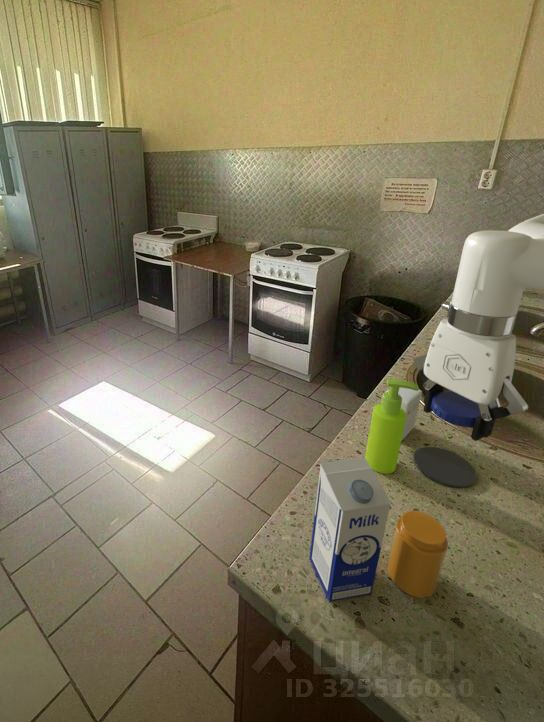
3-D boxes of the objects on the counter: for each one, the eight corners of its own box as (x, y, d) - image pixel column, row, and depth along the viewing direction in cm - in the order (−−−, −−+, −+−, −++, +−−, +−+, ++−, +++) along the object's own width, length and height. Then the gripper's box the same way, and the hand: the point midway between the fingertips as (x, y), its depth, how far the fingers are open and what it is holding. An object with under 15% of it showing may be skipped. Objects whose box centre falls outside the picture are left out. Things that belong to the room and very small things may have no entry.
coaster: (457, 450, 86) (458, 447, 86) (488, 490, 76) (489, 487, 76) (404, 447, 87) (405, 445, 87) (427, 486, 77) (428, 484, 77)
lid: (444, 427, 59) (446, 417, 58) (422, 399, 65) (424, 390, 64) (494, 428, 58) (497, 418, 57) (467, 399, 64) (469, 391, 64)
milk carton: (348, 551, 65) (365, 455, 58) (372, 593, 59) (394, 491, 52) (308, 558, 64) (319, 461, 57) (328, 601, 58) (343, 499, 51)
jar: (423, 557, 64) (436, 509, 60) (444, 600, 58) (459, 549, 54) (381, 553, 65) (391, 506, 61) (396, 595, 58) (408, 545, 55)
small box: (390, 417, 97) (397, 380, 93) (414, 428, 93) (423, 390, 89) (375, 431, 92) (381, 393, 89) (399, 443, 88) (408, 404, 85)
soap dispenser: (403, 477, 79) (421, 393, 72) (366, 470, 81) (380, 387, 74) (398, 457, 84) (415, 376, 77) (363, 450, 87) (377, 371, 79)
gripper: (406, 305, 62) (389, 400, 68) (537, 350, 47) (500, 467, 53) (438, 297, 65) (419, 389, 71) (570, 337, 50) (531, 449, 56)
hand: (454, 422), depth 62 cm, fingers closed on lid, 6 cm apart
